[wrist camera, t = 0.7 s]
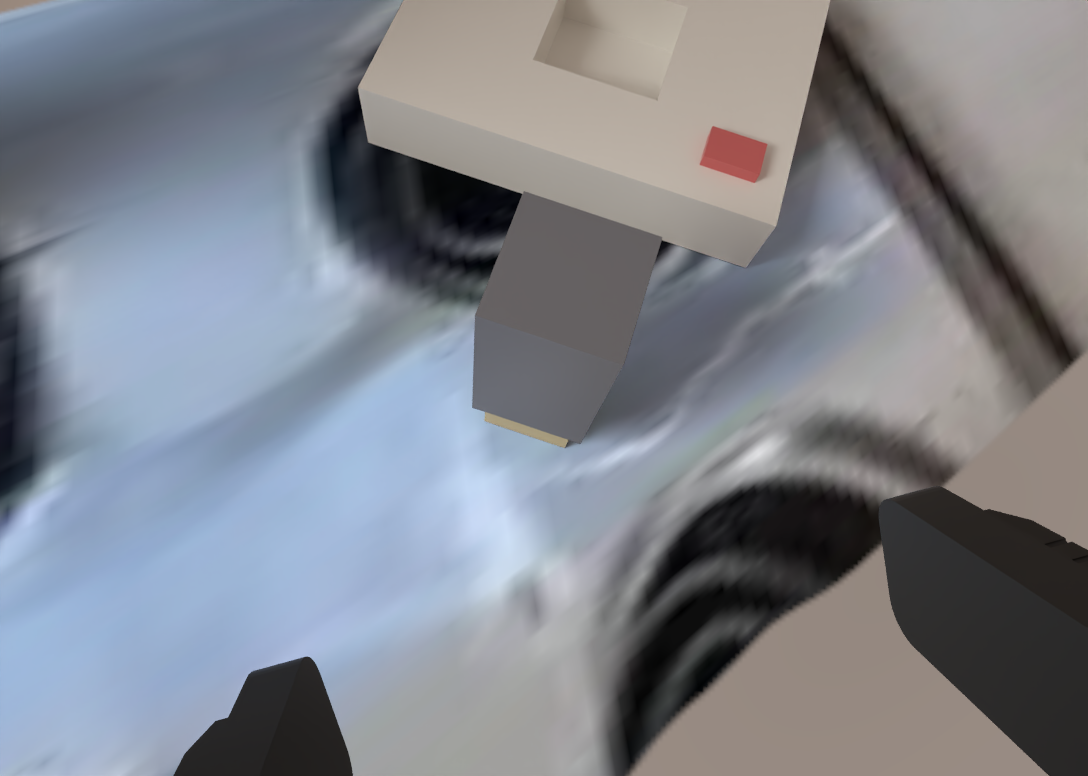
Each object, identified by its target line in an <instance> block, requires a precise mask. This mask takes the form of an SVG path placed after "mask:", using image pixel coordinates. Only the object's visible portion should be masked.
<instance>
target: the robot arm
mask: <svg viewBox="0 0 1088 776" xmlns="http://www.w3.org/2000/svg"><path fill="white" fill-rule="evenodd" d="M879 523H880V530H881V537H882V545H883V552H884V559H885V566H886V573H887V580H888V588H889V595H890V601H891V605H892V609H893V612H894V615H895V617H896V620H897V622H898V624H899V626H900V628H901V630H902V632H903V634H904V635H905V637H906V638H907V640H908V641H909V642H910V643H911V644H912V646H913V647H914V648H915V649H916V650H917V651H918V652H920V653H921V654H922V655H923V656H924V657H925V658H926V659H927V660H928V661H929V662H930V663H931V664H932V665H934V667H935V668H937V670H938V671H940V672H941V673H942V674H943V675H944V676H945V677H946V678H947V679H948V680H949V681H950V682H951V683H952V684H953V685H954V686H955V687H956V688H958V690H960V691H961V692H962V693H963V694H964V695H965V696H966V697H967V698H968V699H969V700H970V701H971V702H972V703H973V704H974V705H975V706H976V707H977V708H978V709H980V710H981V711H982V712H983V713H984V714H985V715H986V716H987V717H988V718H989V719H990V720H991V721H992V722H993V723H994V724H995V725H996V726H997V727H998V728H1000V729H1001V730H1002V731H1003V732H1004V733H1005V734H1006V735H1007V736H1008V737H1009V738H1010V739H1011V740H1012V741H1013V742H1014V743H1015V744H1016V745H1017V746H1018V747H1019V748H1021V749H1022V750H1023V751H1024V752H1025V753H1026V754H1027V755H1028V756H1029V757H1030V758H1031V759H1032V760H1033V761H1034V762H1035V763H1036V764H1037V765H1038V766H1040V768H1042V769H1043V770H1044V771H1045V772H1046V773H1047V774H1048V775H1049V776H1088V550H1087V549H1085V548H1083V547H1081V546H1079V545H1077V544H1075V543H1073V542H1069V543H1067V542H1066V539H1065V538H1064V537H1062V536H1060V535H1058V534H1057V533H1055V532H1053V531H1050V530H1049V529H1047V528H1045V527H1043V526H1042V525H1039V524H1037V523H1036V522H1034V521H1032V520H1029V519H1024V518H1021V517H1017V516H1013V515H1009V514H1005V513H1002V512H997V511H994V510H990V509H988V510H982V509H981V508H979V507H977V506H975V505H973V504H972V503H970V502H968V501H966V500H964V499H963V498H961V497H959V496H957V495H956V494H954V493H952V492H950V491H948V490H947V489H945V488H943V487H940V486H933V487H930V488H926V489H922V490H919V491H915V492H911V493H908V494H904V495H900V496H897V497H893V498H889V499H886V500H884V501H883V502H882V503H881V505H880V508H879ZM174 776H353V774H352V767H351V762H350V758H349V754H348V751H347V748H346V745H345V742H344V739H343V736H342V734H341V731H340V728H339V725H338V722H337V720H336V717H335V714H334V711H333V709H332V706H331V703H330V700H329V697H328V695H327V692H326V689H325V686H324V683H323V681H322V678H321V675H320V672H319V670H318V668H317V666H316V664H315V662H314V661H313V660H312V659H311V658H310V657H303V658H299V659H296V660H292V661H289V662H285V663H281V664H278V665H274V666H270V667H267V668H263V669H259V670H256V671H253V672H251V673H250V674H249V675H248V677H247V679H246V681H245V683H244V685H243V687H242V689H241V691H240V694H239V696H238V698H237V700H236V702H235V704H234V706H233V708H232V711H231V713H230V715H229V717H228V718H225V719H222V720H218V721H215V722H214V723H213V724H212V725H211V726H210V727H209V729H208V730H207V731H206V732H205V733H204V734H203V735H202V736H201V737H200V738H199V739H198V740H197V741H196V742H195V743H194V745H193V746H192V747H191V748H190V749H189V750H188V751H187V752H186V753H185V754H184V756H183V758H182V760H181V762H180V764H179V766H178V768H177V770H176V772H175V774H174Z"/></svg>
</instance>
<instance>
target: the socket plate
mask: <svg viewBox="0 0 1088 776" xmlns="http://www.w3.org/2000/svg"><path fill="white" fill-rule="evenodd" d="M829 4H830V0H403V2H402V4H401V6H400V8H399V10H398V12H397V14H396V15H395V17H394V19H393V21H392V23H391V25H390V27H389V29H388V31H387V33H386V35H385V37H384V39H383V40H382V42H381V44H380V46H379V48H378V50H377V52H376V54H375V56H374V58H373V60H372V62H371V63H370V65H369V67H368V69H367V71H366V73H365V75H364V77H363V79H362V81H361V83H360V85H359V86H358V91H359V96H360V101H361V107H362V112H363V117H364V123H365V128H366V133H367V138H368V143H371V144H374V145H377V146H380V147H383V148H386V149H389V150H392V151H395V152H398V153H401V154H404V155H407V156H410V157H413V158H416V159H419V160H422V161H425V162H428V163H431V164H434V165H437V166H440V167H443V168H446V169H449V170H452V171H455V172H458V173H461V174H464V175H467V176H471V177H474V178H477V179H480V180H483V181H486V182H489V183H492V184H495V185H498V186H501V187H504V188H507V189H510V190H513V191H516V192H519V193H522V194H523V192H524V191H525V192H528V193H531V194H534V195H537V196H540V197H543V198H546V199H549V200H552V201H555V202H558V203H561V204H564V205H567V206H570V207H573V208H576V209H579V210H582V211H585V212H588V213H591V214H594V215H597V216H600V217H603V218H606V219H609V220H612V221H616V222H619V223H622V224H625V225H628V226H631V227H634V228H637V229H640V230H643V231H646V232H649V233H652V234H655V235H658V236H661V237H662V240H663V241H666V242H669V243H672V244H675V245H678V246H681V247H684V248H687V249H690V250H693V251H696V252H699V253H702V254H705V255H708V256H711V257H714V258H717V259H720V260H723V261H726V262H729V263H732V264H735V265H738V266H741V267H744V268H746V267H747V266H748V264H749V263H750V262H751V260H752V259H753V258H754V256H755V255H756V254H757V252H758V251H759V249H760V248H761V247H762V245H763V244H764V243H765V241H766V240H767V238H768V237H769V236H770V234H771V233H772V232H773V230H774V229H775V227H776V226H777V221H778V217H779V213H780V209H781V205H782V201H783V196H784V192H785V188H786V184H787V180H788V175H789V171H790V167H791V163H792V159H793V155H794V150H795V146H796V142H797V138H798V134H799V129H800V125H801V121H802V117H803V113H804V109H805V104H806V100H807V96H808V92H809V88H810V83H811V79H812V75H813V71H814V67H815V63H816V58H817V54H818V50H819V46H820V42H821V37H822V33H823V29H824V25H825V21H826V17H827V12H828V8H829Z"/></svg>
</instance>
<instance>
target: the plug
mask: <svg viewBox="0 0 1088 776" xmlns="http://www.w3.org/2000/svg"><path fill="white" fill-rule="evenodd" d="M661 240H662V237H661V236H658V235H655V234H652V233H649V232H646V231H643V230H640V229H637V228H634V227H631V226H628V225H625V224H622V223H619V222H616V221H612V220H609V219H606V218H603V217H600V216H597V215H594V214H591V213H588V212H585V211H582V210H579V209H576V208H573V207H570V206H567V205H564V204H561V203H558V202H555V201H552V200H549V199H546V198H543V197H540V196H537V195H534V194H531V193H528V192H525V191H524V192H523V195H522V197H521V200H520V202H519V205H518V207H517V210H516V212H515V215H514V218H513V220H512V223H511V225H510V228H509V230H508V233H507V235H506V238H505V241H504V243H503V246H502V248H501V251H500V253H499V256H498V258H497V261H496V263H495V266H494V269H493V271H492V274H491V276H490V279H489V281H488V284H487V286H486V289H485V292H484V294H483V297H482V299H481V302H480V304H479V307H478V309H477V312H476V314H475V335H474V369H473V402H472V408H475V409H478V410H481V411H484V412H485V421H486V422H489V423H492V424H495V425H498V426H501V427H504V428H507V429H510V430H513V431H516V432H519V433H521V434H524V435H527V436H530V437H533V438H536V439H539V440H542V441H545V442H548V443H551V444H554V445H557V446H560V447H563V448H565V446H566V444H567V442H568V440H570V441H573V442H576V443H579V444H581V442H582V440H583V438H584V436H585V434H586V433H587V431H588V429H589V427H590V425H591V424H592V422H593V420H594V418H595V416H596V414H597V413H598V411H599V409H600V407H601V405H602V404H603V402H604V400H605V398H606V396H607V394H608V393H609V391H610V389H611V387H612V385H613V384H614V382H615V380H616V378H617V376H618V374H619V373H620V371H621V369H622V367H623V365H624V362H625V359H626V356H627V352H628V349H629V346H630V342H631V339H632V336H633V332H634V329H635V326H636V323H637V319H638V316H639V313H640V309H641V306H642V303H643V299H644V296H645V293H646V290H647V286H648V283H649V280H650V276H651V273H652V270H653V266H654V263H655V260H656V257H657V253H658V250H659V247H660V243H661Z"/></svg>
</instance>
